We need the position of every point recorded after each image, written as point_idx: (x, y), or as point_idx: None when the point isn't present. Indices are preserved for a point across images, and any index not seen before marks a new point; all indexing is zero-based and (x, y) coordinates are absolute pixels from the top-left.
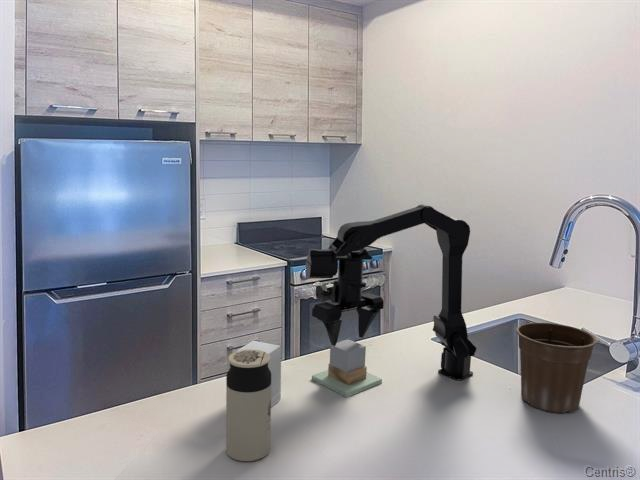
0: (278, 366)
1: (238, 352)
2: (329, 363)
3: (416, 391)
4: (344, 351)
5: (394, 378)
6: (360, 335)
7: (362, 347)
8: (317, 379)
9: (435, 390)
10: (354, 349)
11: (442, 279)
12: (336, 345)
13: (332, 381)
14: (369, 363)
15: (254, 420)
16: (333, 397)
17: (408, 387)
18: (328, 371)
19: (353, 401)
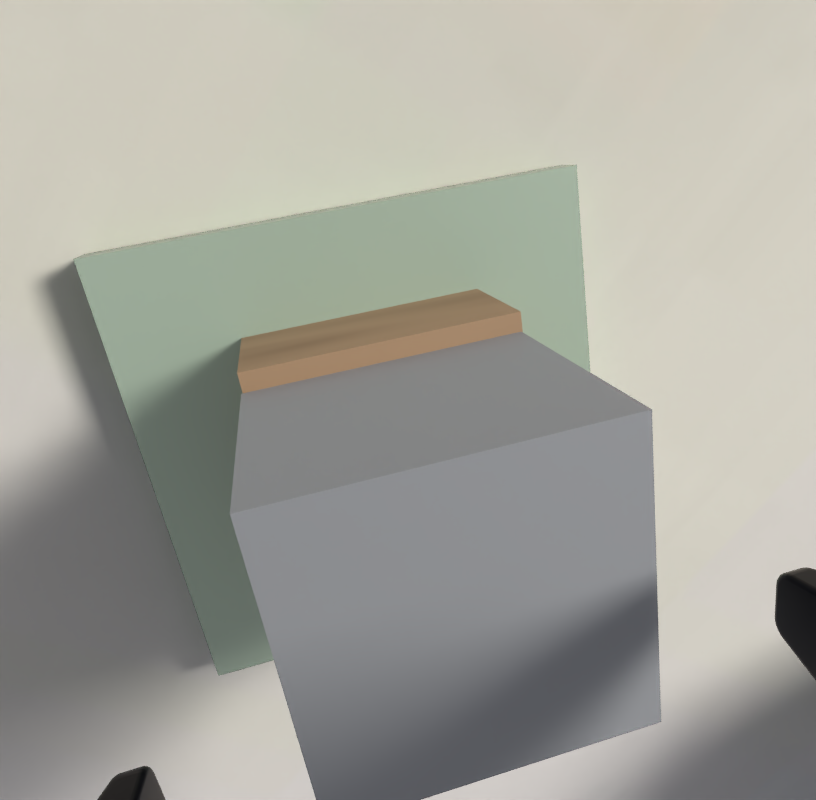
0: None
1: None
2: (252, 369)
3: (674, 706)
4: (310, 769)
5: (709, 519)
6: (801, 620)
7: (599, 741)
8: (107, 345)
9: (765, 724)
10: (461, 779)
11: None
12: (311, 581)
13: (214, 466)
14: (771, 198)
15: None
16: (122, 627)
17: (677, 653)
18: (241, 349)
19: (235, 713)
